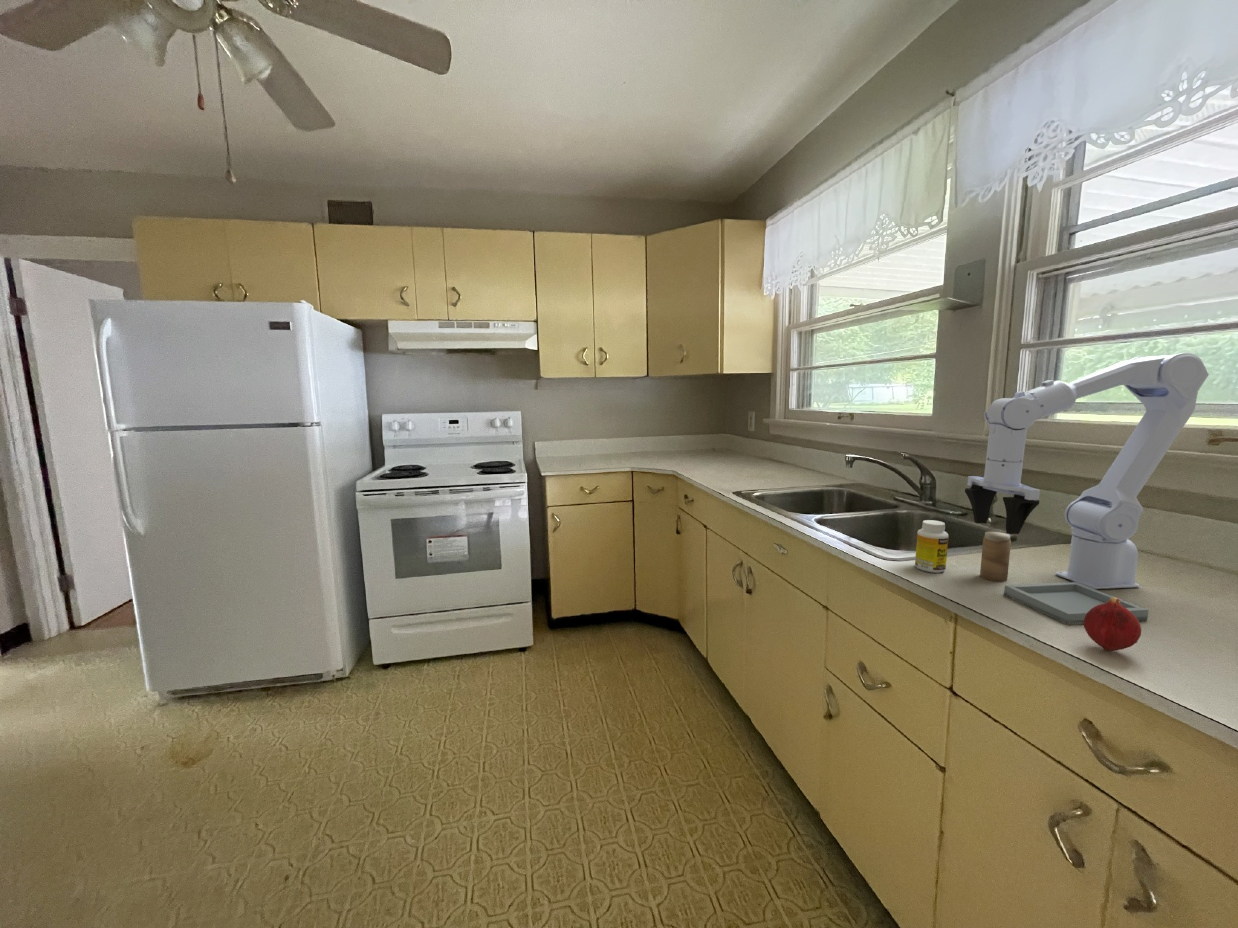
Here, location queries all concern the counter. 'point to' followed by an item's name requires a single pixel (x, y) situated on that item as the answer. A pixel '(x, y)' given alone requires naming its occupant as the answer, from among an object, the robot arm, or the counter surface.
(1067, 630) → the counter surface
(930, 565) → the supplement bottle
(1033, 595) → the tray
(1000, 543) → the shaker
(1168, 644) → the counter surface
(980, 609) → the counter surface
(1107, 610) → the onion
